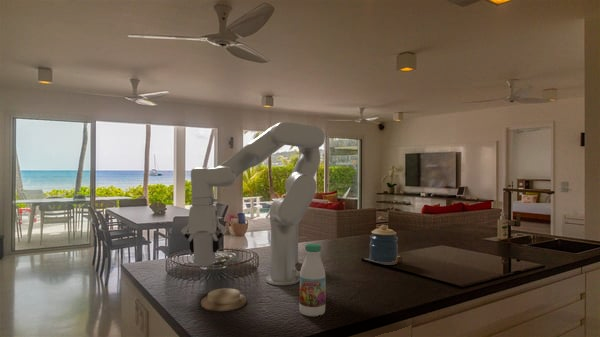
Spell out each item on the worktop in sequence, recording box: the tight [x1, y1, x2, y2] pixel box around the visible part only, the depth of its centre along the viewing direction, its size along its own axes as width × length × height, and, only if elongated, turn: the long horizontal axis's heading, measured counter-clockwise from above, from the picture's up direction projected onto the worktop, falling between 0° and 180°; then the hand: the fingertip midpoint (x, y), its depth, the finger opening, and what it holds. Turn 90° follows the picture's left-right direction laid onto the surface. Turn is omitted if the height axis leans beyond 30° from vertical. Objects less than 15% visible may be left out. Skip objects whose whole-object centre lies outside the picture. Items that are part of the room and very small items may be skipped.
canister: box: [369, 224, 399, 262], centre depth 170 cm, size 13×13×18 cm
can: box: [193, 232, 217, 267], centre depth 132 cm, size 8×8×12 cm
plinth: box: [200, 287, 247, 312], centre depth 117 cm, size 14×14×3 cm
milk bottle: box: [298, 243, 327, 317], centre depth 110 cm, size 8×8×20 cm
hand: (204, 251), depth 132 cm, fingers closed on can, 7 cm apart
